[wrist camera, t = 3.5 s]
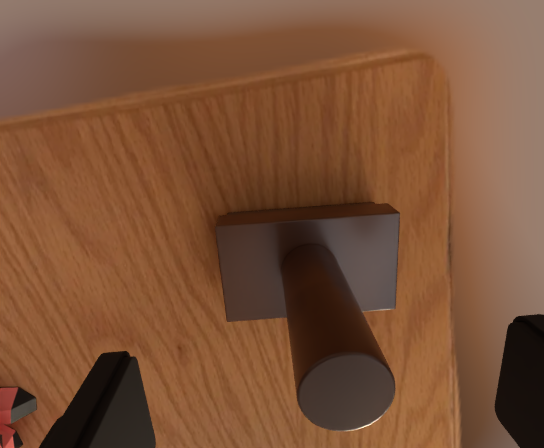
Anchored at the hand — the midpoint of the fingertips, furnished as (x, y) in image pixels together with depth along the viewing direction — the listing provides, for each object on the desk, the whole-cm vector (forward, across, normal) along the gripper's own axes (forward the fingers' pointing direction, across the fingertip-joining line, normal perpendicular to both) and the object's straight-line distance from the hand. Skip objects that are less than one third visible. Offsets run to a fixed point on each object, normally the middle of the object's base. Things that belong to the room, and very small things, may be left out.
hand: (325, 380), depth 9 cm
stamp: (+9, -1, 0) cm, 9 cm away
